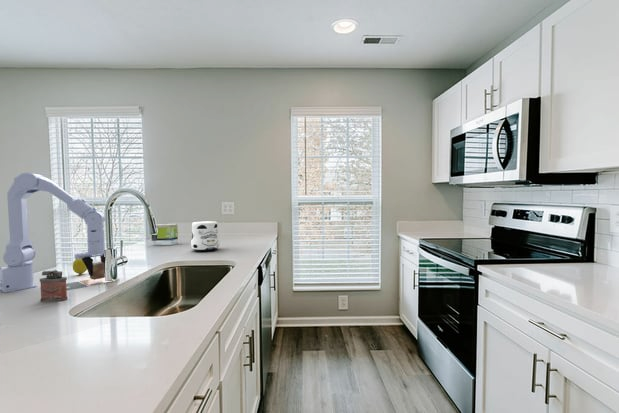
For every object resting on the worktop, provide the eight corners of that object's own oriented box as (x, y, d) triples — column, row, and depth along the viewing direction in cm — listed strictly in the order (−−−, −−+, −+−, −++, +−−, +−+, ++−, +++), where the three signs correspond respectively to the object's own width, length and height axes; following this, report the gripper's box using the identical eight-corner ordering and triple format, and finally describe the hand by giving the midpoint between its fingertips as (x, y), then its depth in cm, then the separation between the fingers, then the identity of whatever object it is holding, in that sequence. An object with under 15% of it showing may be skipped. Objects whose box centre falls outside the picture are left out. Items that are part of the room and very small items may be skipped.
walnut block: (93, 279, 128) (93, 264, 128) (90, 278, 131) (89, 263, 131) (105, 277, 131) (104, 263, 131) (101, 276, 134) (100, 261, 134)
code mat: (49, 294, 114) (49, 293, 114) (40, 288, 122) (40, 288, 122) (88, 286, 124) (88, 286, 124) (78, 281, 131) (78, 281, 131)
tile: (89, 286, 124) (89, 285, 124) (79, 281, 131) (79, 281, 131) (115, 281, 131) (115, 280, 131) (104, 277, 138) (104, 276, 138)
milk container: (211, 253, 196) (210, 223, 195) (185, 252, 199) (184, 223, 199) (224, 248, 213) (223, 221, 212) (200, 248, 216) (199, 221, 216)
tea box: (178, 243, 240) (177, 223, 239) (171, 245, 230) (170, 224, 229) (159, 243, 241) (158, 223, 241) (151, 245, 231) (150, 225, 231)
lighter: (70, 298, 109) (69, 269, 109) (62, 301, 106) (61, 271, 105) (45, 299, 109) (44, 269, 108) (37, 302, 105) (36, 272, 105)
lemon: (85, 272, 147) (85, 255, 147) (89, 274, 144) (89, 256, 144) (71, 275, 143) (70, 257, 143) (75, 276, 140) (74, 258, 139)
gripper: (78, 243, 123) (79, 279, 123) (119, 239, 134) (120, 272, 134) (72, 242, 127) (73, 276, 127) (112, 238, 138) (113, 269, 139)
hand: (97, 274), depth 131 cm, fingers closed on walnut block, 4 cm apart
